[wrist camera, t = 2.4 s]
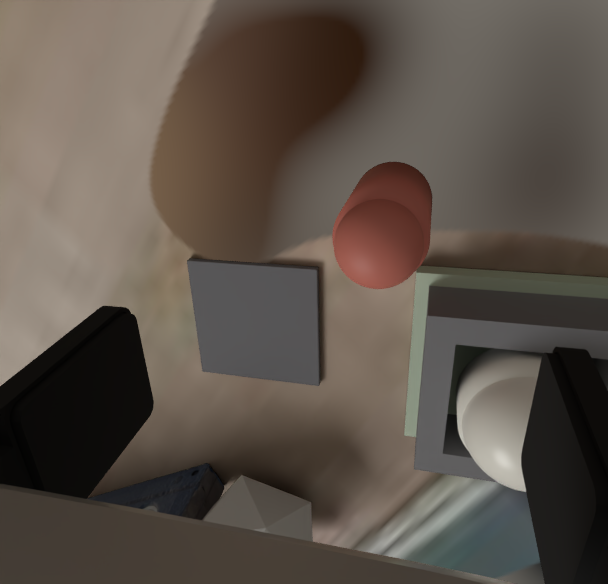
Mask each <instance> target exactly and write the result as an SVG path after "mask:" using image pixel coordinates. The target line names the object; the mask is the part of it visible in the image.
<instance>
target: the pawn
mask: <svg viewBox="0 0 608 584" xmlns="http://www.w3.org/2000/svg"><path fill="white" fill-rule="evenodd" d="M431 211H432V193H431V189H430V186H429V183H428V182H427V180H426V179H425V177H424V176H423V175H422V174H421V173H420V172H419V171H418V170H417V169H415V168H414V167H412V166H410V165H408V164H405V163H400V162H387V163H382V164H379V165H377V166H375V167H373V168H372V169H370V170H369V171H368V172H366V173H365V174H364V175H363V177H362V178H361V179H360V181H359V182H358V184H357V186H356V187H355V189H354V191H353V192H352V194H351V195H350V197H349V199H348V200H347V202H346V203H345V205H344V207H343V208H342V210H341V211H340V213H339V215H338V217H337V219H336V221H335V224H334V228H333V245H334V252H335V257H336V260H337V262H338V264H339V266H340V268H341V269H342V271H343V272H344V273H345V274H346V276H347V277H349V278H350V279H351V280H352V281H354V282H355V283H357V284H359V285H361V286H364V287H368V288H373V289H384V288H390V287H393V286H396V285H398V284H400V283H402V282H403V281H405V280H406V279H408V278H409V277H410V276H411V275H412V274H413V273H414V272H415V271H416V270H417V269H418V268H419V266H420V265H421V264H422V263H423V261H424V259H425V257H426V255H427V253H428V249H429V244H430V229H431Z"/></svg>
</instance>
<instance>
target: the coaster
mask: <svg viewBox="0 0 608 584" xmlns="http://www.w3.org/2000/svg"><path fill="white" fill-rule="evenodd" d="M187 264H188V271H189V278H190V285H191V293H192V300H193V307H194V314H195V321H196V328H197V335H198V342H199V349H200V356H201V363H202V371H203V372H211V373H219V374H227V375H235V376H243V377H251V378H260V379H268V380H276V381H284V382H292V383H300V384H308V385H316V386H319V385H320V334H319V279H318V267H309V266H295V265H280V264H265V263H251V262H236V261H235V262H234V261H221V260H207V259H192V258H190V259H189V260H187Z"/></svg>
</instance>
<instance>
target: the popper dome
mask: <svg viewBox="0 0 608 584" xmlns="http://www.w3.org/2000/svg"><path fill="white" fill-rule="evenodd" d="M543 354H544V353H537V352H527V351H517V350H507V349H496V348H492V349H490V350H487V351H485V352H483V353H481V354H480V355H478V356H477V357H475V358H474V359H473V360H471V361H470V362H469V363H468V364H467V365H466V367H465V368H464V369H463V371H462V373H461V374H460V376H459V379H458V381H457V386H456V405H457V425H458V432H459V435H460V438H461V440H462V442H463V444H464V446H465V447H466V449H467V450H468V451H469V453H470V455H471V456H472V458H473V459H474V461H475V462H476V464H477V465H478V466H479V467H480V468H481V469H482V470H483V471H484V472H485V473H486V474H487V475H488V476H490V477H491V478H492V479H494V480H495V481H497V482H499V483H500V484H502V485H505V486H507V487H509V488H512V489H515V490H519V491H524V492H526V488H525V483H524V478H523V473H522V467H521V453H522V448H523V443H524V438H525V434H526V429H527V424H528V420H529V415H530V410H531V406H532V401H533V396H534V392H535V387H536V382H537V378H538V373H539V368H540V364H541V359H542V356H543Z"/></svg>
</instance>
